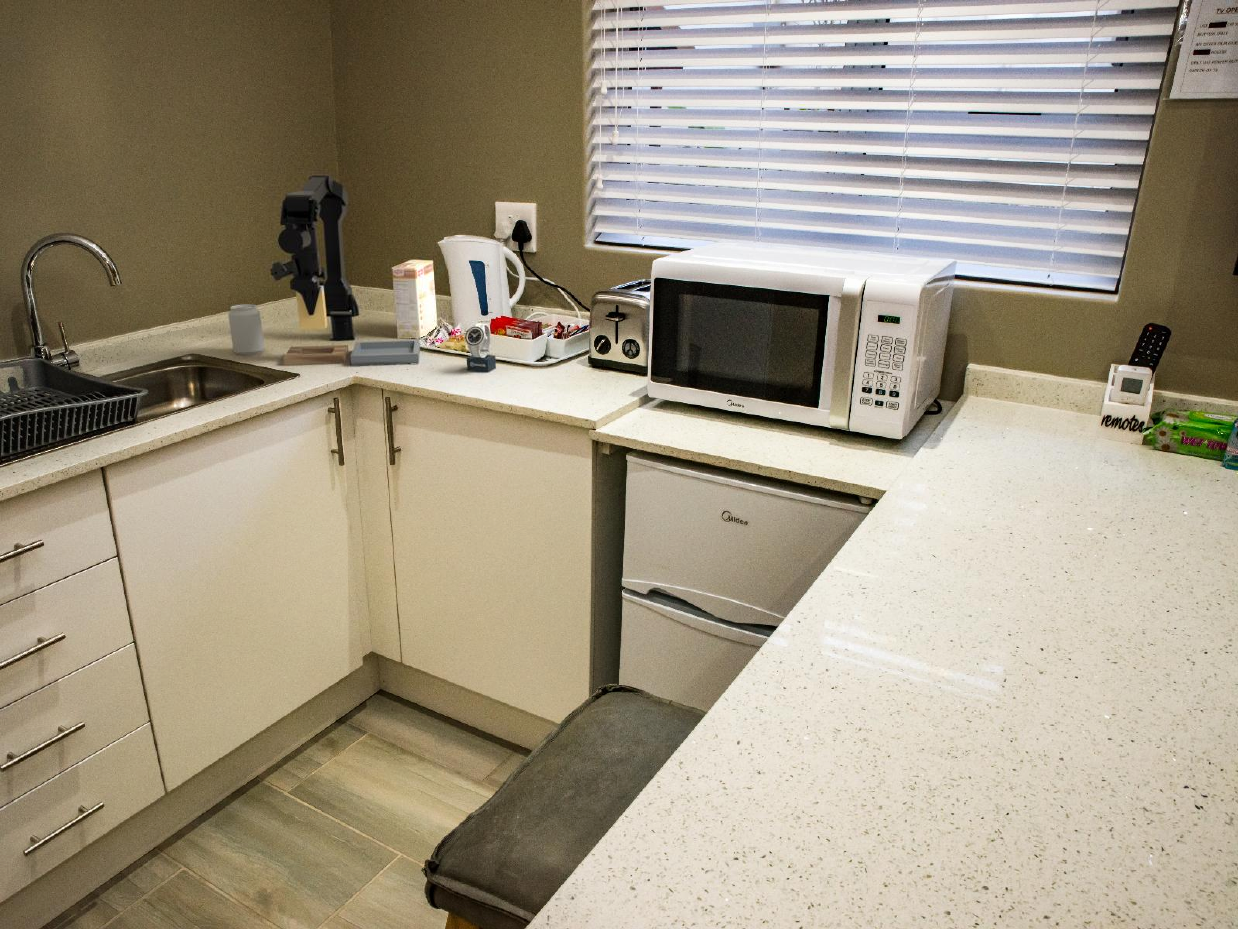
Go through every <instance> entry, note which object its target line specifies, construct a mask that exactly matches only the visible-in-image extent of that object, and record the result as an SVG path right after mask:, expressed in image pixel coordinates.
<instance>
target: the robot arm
mask: <svg viewBox="0 0 1238 929" xmlns="http://www.w3.org/2000/svg"><path fill="white" fill-rule="evenodd" d="M281 204H282V205H281V212H280V213H281V214H280V222H279V224H280V226H284V227H285V228H284V229H283V230H281V231H280V233H279V235H278V238H277V242H278V246H279V247H280V249H281V250H282V251H283V252H284V253H286V254H289V255H290V254H291V256H290V259H289V260H286V261H283V262H281V261H280V260H278V261H277V262H274V263H272V266H271V267H270V268H269V270H270V275H271V276H272V277H273V279H274V281H275V282H277V281H278V282H279V281H281V279H283V278H287V277H288V276H290V275H292V278H291V280H290V281H289V286H290V290H291V291H295V292H296V291H297V292H298V293H300V294H301V295H302V297H303V300H304V303H305V306H306V308H307V311H308V314H309V315H314V312H315V308H316V304H317V300H318V296H319V293H320V289H321V286H323V287H324V297H325V306H326V316H327V317H330V327H331V336H330V337H329V341H345V340H346V341H347V340H348V341H351V340H352V341H353V340H355V338H356V337H357V333H356V332H355V331H354V322H353V321H354V320H353V318H356V317H359V316H360V308H359V304H358V302H357V300H356V297H355V295H354V294H353V289H352V287H351V285H350V283H349V282H348V281H347V279H346V276H345V275H346V273H345V259H344V258H345V257H344V243H343V242H344V241H343V227H342V223H343V221H344V220H345V219H344V218H345V217H346V215H347V213H348V205H349V194H348V192H347V190H346V188H345V187H344V185H343V184H341V183H339V182H337V181H336V180H334V179H333V177H332V176H331V175H329V174H312V175H310V176H309V179H308V181H307V182H306V183H305V185H304V186H303V187H302V188H301V189H300V190H299V191H295V192H293V191H292V192H290V193H287V194H286V195H285V197H284V199H283V201H282V203H281ZM319 218H320V220H321V221H322V225H323V236H324V253H325V265H326V266H325V267H326V269H325V268H324V267H323V266H321V265H320V256H321V254H320V251H319V246H318V236H317V228H316V227H317V222H319ZM321 278H322V281H321V280H320V279H321ZM319 286H320V287H319Z"/></svg>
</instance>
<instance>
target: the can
mask: <svg viewBox="0 0 1238 929" xmlns="http://www.w3.org/2000/svg"><path fill="white" fill-rule="evenodd" d="M229 309H230V311H229V312H228V321H229V322H228V323H229V329H230V336H231V343H232V350H233V351H234V352H235V353H236V354H237V355H240V356H251V355H253V354H254V355H259V354H261V353H262V352H263V351H264V349H265V342H264V333H263V325H262V319H261V318H262V317H261V311H260V310H259V309H258V308H257V305H255V304H236V305H232V306H230V307H229Z"/></svg>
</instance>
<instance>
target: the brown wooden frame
mask: <svg viewBox="0 0 1238 929" xmlns="http://www.w3.org/2000/svg"><path fill="white" fill-rule="evenodd" d="M349 352H350V351H349V344H333V345H332V344H331V345H305V346H302V345H301V346H299V345H298V346H290V348H288V350H287V352H286V353H285V355H284V356H283V363H284V367H287V366H288V367H289V366H291V367H292V366H311V365H312V364H314V365H315V364H316V365H317V364H319V365H340V364H341V363H342V364H341V365H343V364H345V363H346V359H347V358H348V355H349ZM314 365H313V366H314ZM316 365H315V366H316Z"/></svg>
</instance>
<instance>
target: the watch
mask: <svg viewBox="0 0 1238 929" xmlns="http://www.w3.org/2000/svg"><path fill="white" fill-rule="evenodd" d="M491 335H492V333H491V328H490V326H489V325H488V324H487V323H479V322H478V323H477V322H476V323H474V324H472V325H471V327H469V328H468V329H467V331H466V333H465V335H464V340H465V343H466V344H467V345H466V346H467V349H468V350H469V353H470V355H469V356H467V357H466V371H467V372H468V371H469V372H478V373H490V372H491V371H494V370H495V369H497V366H496V365H497V364H496V355H492V354H491V355H490V354H489V353H490V350H491V344H492V343H491V342H492V337H491Z"/></svg>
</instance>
